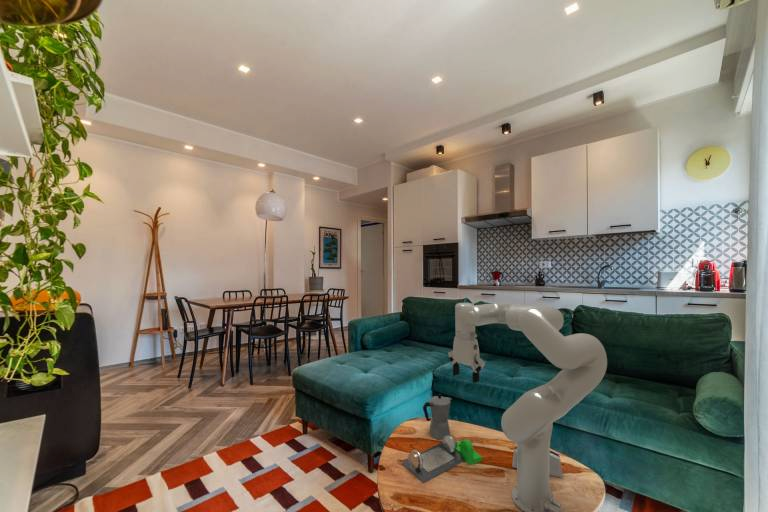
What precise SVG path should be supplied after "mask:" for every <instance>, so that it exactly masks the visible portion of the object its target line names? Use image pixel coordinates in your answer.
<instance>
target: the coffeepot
mask: <svg viewBox="0 0 768 512" xmlns="http://www.w3.org/2000/svg"><path fill="white" fill-rule="evenodd" d="M452 400H453V399H452V398H451V397H446V396H442V393H437V395H434V396H432V397H431V398H429V399H428V401H426V402H424V404H423V406H422V410H423V413H424V417H425V419H426V421H427V422H429V421H430V425H429V430H428V432H429V436H430V437H431V438H433V439H436V440H440V441H443V438H444V436H446V435H451V432H450V425H449V420H448V417H449V414H450V409H451V401H452ZM428 407H429V408H430V415H431V417H429V412H428Z"/></svg>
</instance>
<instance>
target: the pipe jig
mask: <svg viewBox="0 0 768 512" xmlns="http://www.w3.org/2000/svg"><path fill="white" fill-rule="evenodd" d="M457 442H458V440H457V439H456V437H455V436H454V435H452V434H450V435H446V436H444V438H443V440H442V442H440V443H438V444H436V445H433V446H431V447H429V448H427V449H425V450H421V451H419V450H418V449H413V450H412V451H411V452H410V453H409V454H408V457H406V458H405V459H404V460H402V466H404V468H406V470H407V471H409V472H410V473H412V474H413V475H414V476H415V477H416V478H417V479H418V480H420V481H421V482H422V483H426V482H428V481H430V480H431V479H434V478H435V477H437V476H439V475H441V474H443V473H445V472H446V471H448V470H451V469H452V468H454V467H456V466H458V465H460V464H461V463H463V462H465V461H464V457H463V456H462V455H460V454H459V453H457V452H456V450H455V449H456V448H457V446H458V444H457Z"/></svg>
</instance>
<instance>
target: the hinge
mask: <svg viewBox="0 0 768 512" xmlns="http://www.w3.org/2000/svg"><path fill="white" fill-rule="evenodd" d="M511 462H512V465H511V466H512V468H514V469H517V444H515V445H514V449H513V455H512V461H511ZM562 469H563V467H562V462H561V456H560V454H559V452H557V451H556V450H554V449H552V448H550V476H552V477H557V478H561V479H562V478H563V476H564V475H563V470H562Z"/></svg>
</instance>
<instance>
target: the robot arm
mask: <svg viewBox="0 0 768 512" xmlns="http://www.w3.org/2000/svg"><path fill="white" fill-rule="evenodd" d="M454 311H455V313H454V315H455V317H454V318H455V319H454V320H455V321H454V322H455V323H454V324H455V336H454V337H453V338H454V339H453V345H452V350H451V351H448V352H447V354H448V357H449V361H450V363H451V365H452V375H453V376H454V377H455V376H458V375H460V364H462V365H465V366H468V367H470V368H471V370H473V372H471V373H472V374H471V375H472V376H471V377H472V383H473V384H475V383H479V382H480V372H481V371H482V370H483V369H484V366H485V365H486V362H485V361H484V360H483V359H482V358H481V357H480V348H479V342H478V339H477V337H478V334H477V333H476V327H479V326H480V327H481V326H484V325H485V326H486V325H491V324H501V325H502V324H504V325H507V326H508V328H509V329H511V330H512V331H519V332H522V333H523V334H524V336H525V337H526V338H527V340H529V341H530V343H531V344H533V346H534V347H535V348H536V349H537V350H538V351H539V352H540V353H541V354H542V355H543V356H544V357H545V358H546V359H547V360H548V362H550V363H551V364H552V365H553V366H555V367H557V368H558V369H561V370H560V371H559V372H558V373H557V374H556V375H555V376H554V377H553V378H552V379H550V380H549V381H548V382H546V383H545V384H542V385H539V386H537V387H535V388H533V389H530V390H528V391H526V392H525V393H523V394H522V395H521V396H520V397H519V398H518V399H516V401H515V402H514V403H512V404H511V405H510V406H509V407H508V408H507V409H506V410H505V411H504V412H503V414H502V416H501V422H500V425H501V430H502V432H503V434H504V436H506V438H507V439H508V440H510V441H511V442H513V443H516V445H517V468H516V486H514V487H513V488H512V490H511V498H512V502H513V503H514V504H515V505H516V506H517V507H518V508H519V509H520V510H521V511H523V512H563V511H562V504H561V503H559V502H557V501H556V500H555V499H554V493H553V492H552V491H550V482H551V481H550V476H551V475H550V449H551V437H552V434H553V427H554V425H553V423H554V422H556V421H558V420H559V419H561V418H563V417H564V416H565V415H566V414H567V413H569V411H571V409H572V408H574V407H575V406H576V405H578V404H579V403H580V402H581V401H582V400H584V399H585V397H586V396H588V395H589V394H590V393H591V392H593V390H595V388H596V387H598V385H599V384H600V383H601V381H602V380H603V378H605V377H604V376H605V375H606V372H607V368H608V357H607V352H606V349H605V347H604V345H603V343H602V342H601V341H600V340H599V339H598V337H595V336H594V335H592V334H589V333H581V332H580V333H574V334H569V335H566V336H565V335H563V334H562V333H561V332H560V330H561V329H562V327H563V325H564V324H565V323H564V321H565V320H564V316H563V314H562V312H561V311H560V310H559V309H558V308H556V307H554V306H550V305H537V304H536V305H535V304H534V305H533V304H513V303H511V304H510V303H493V302H492V303H484V304H475V305H474V304H473V303H472V302H471V303H470V302H458V303H456V304H455V306H454Z"/></svg>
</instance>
